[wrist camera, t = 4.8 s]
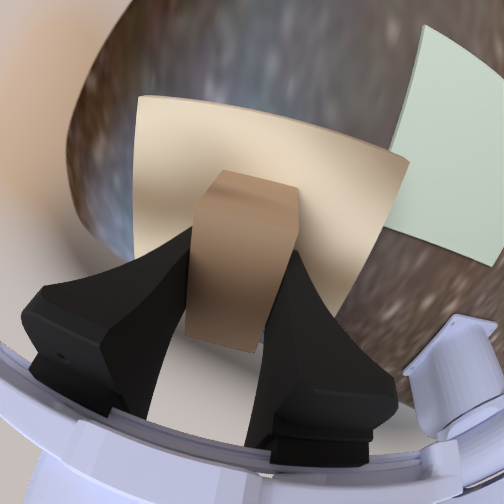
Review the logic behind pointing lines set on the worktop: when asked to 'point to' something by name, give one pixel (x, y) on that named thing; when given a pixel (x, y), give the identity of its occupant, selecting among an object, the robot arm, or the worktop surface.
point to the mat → (451, 152)
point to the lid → (255, 207)
